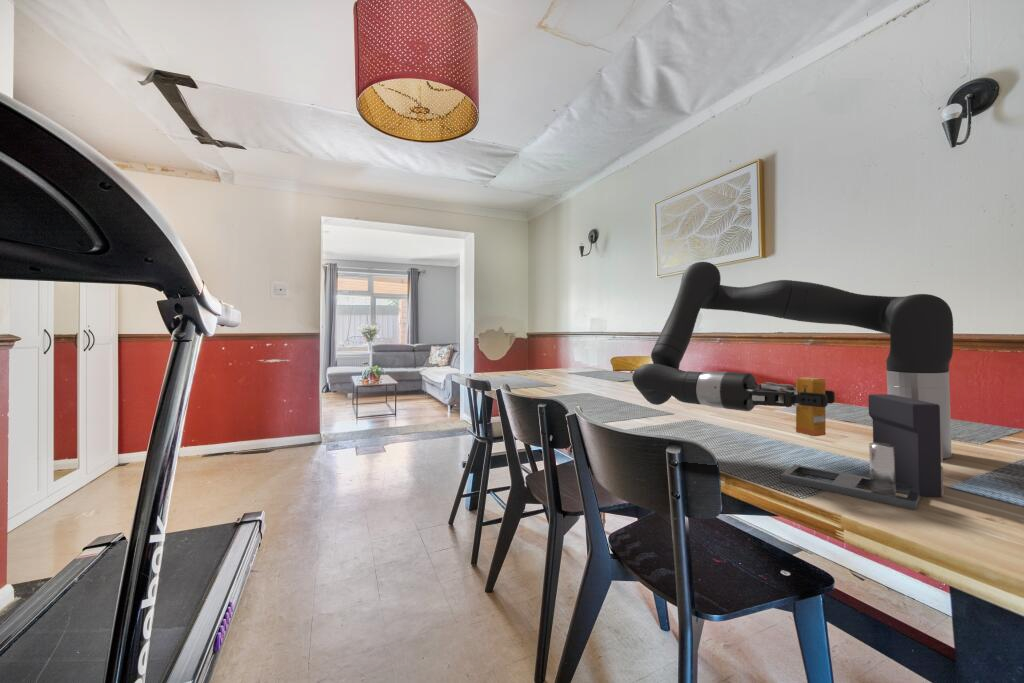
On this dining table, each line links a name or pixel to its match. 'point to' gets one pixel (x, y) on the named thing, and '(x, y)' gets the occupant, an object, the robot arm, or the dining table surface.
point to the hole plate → (851, 486)
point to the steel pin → (882, 468)
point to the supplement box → (810, 408)
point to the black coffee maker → (911, 439)
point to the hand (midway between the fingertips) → (830, 398)
